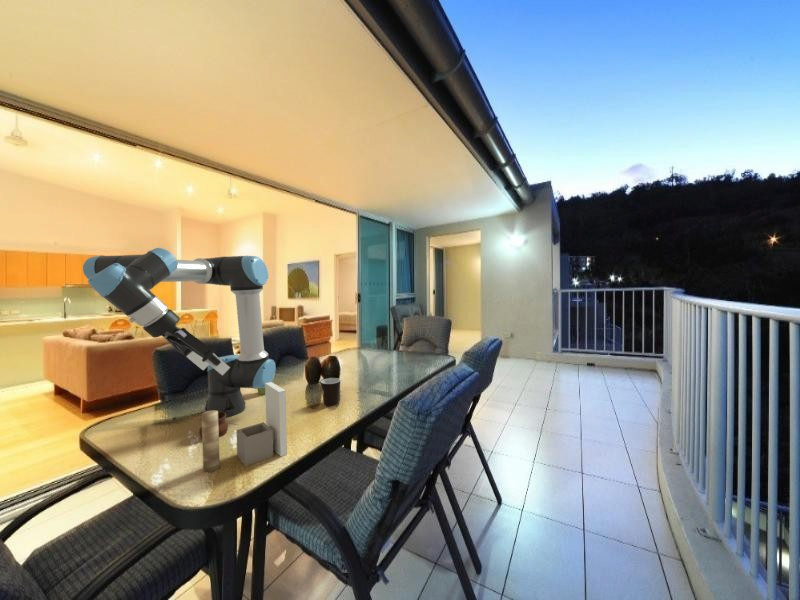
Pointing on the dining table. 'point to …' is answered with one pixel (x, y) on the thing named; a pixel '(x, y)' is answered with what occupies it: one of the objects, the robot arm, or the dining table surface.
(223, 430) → the ceramic pot
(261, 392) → the plant pot
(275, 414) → the cup bracket
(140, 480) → the dining table surface
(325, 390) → the coffee mug
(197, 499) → the dining table surface
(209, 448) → the oak rail
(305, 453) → the dining table surface
